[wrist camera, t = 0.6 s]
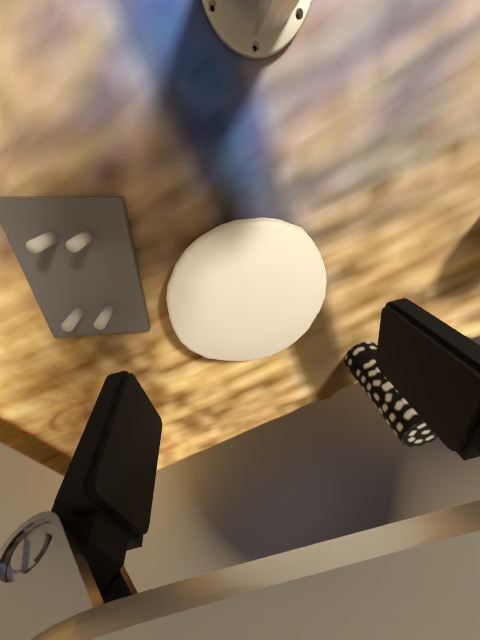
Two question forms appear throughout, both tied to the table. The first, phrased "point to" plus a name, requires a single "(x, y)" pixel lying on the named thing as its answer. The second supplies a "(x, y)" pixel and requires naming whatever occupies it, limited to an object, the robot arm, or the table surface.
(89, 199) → the peg stand
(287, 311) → the plate
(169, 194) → the table surface
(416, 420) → the spotted tube
